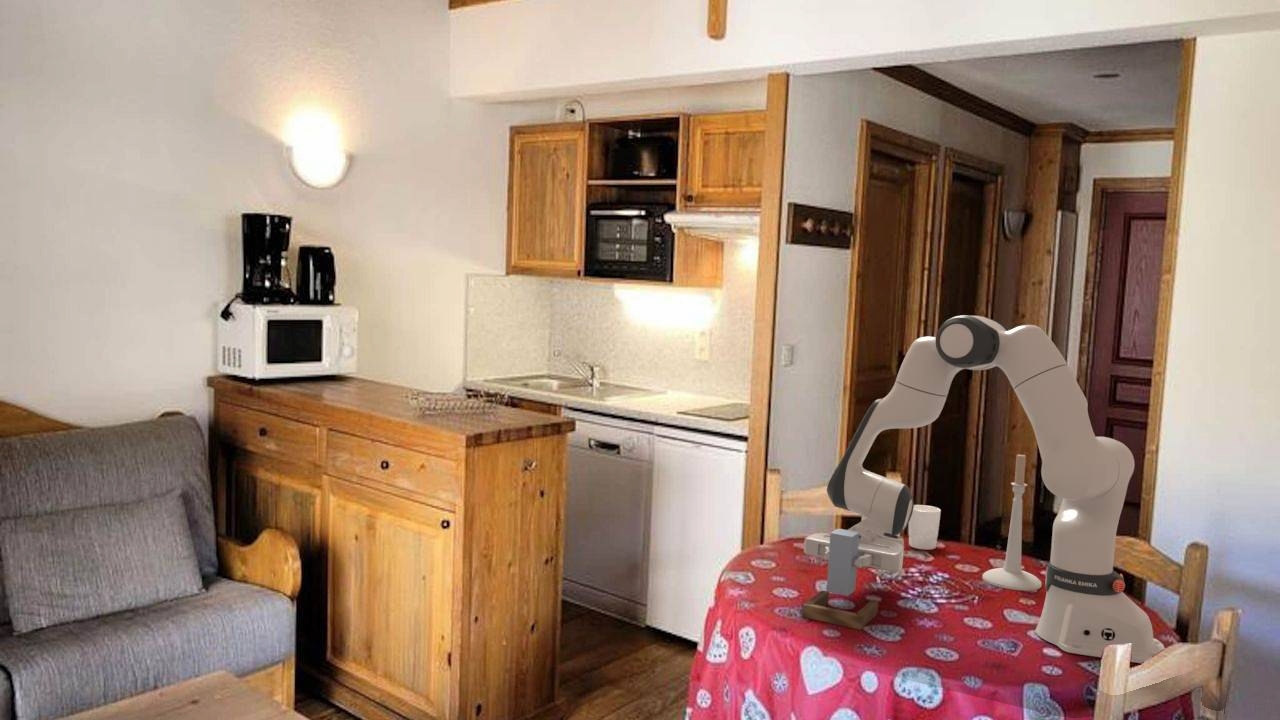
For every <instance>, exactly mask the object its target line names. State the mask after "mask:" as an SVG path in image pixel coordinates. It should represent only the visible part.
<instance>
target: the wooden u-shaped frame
mask: <svg viewBox="0 0 1280 720" xmlns="http://www.w3.org/2000/svg"><path fill="white" fill-rule="evenodd" d="M829 594H830V592H827V591H826V590H823V589H822V590H820V591H819V592H818V593H816V594H815V595H813V596H812V597H811V598H809V599H808V600H807V601H805V602H804V603H803V604H802V608H801V609H802V610H801V611H802V612H801V613H802V614H801V618H804V619H805V618H806V619H811V620H815V621H820V622H824V623H827V624H828V623H829V624H833V625H837V626H842V627H847V628H852V629H856V630H859V631H860V630H862V629H864V627H865V626H866V625H867V624H868V623H870V621H872V620H873V619H874V618H875V617H876V616H877V615H878V614H879V612H878V611H879V601H876V600H870V601H868V603H867V604H865V605H864V606H862V608H861V609H860V610H858V611H857V612H852V611H847V610H842V609H837V608H833V607H828V606H827V605H828V604H829Z"/></svg>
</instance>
